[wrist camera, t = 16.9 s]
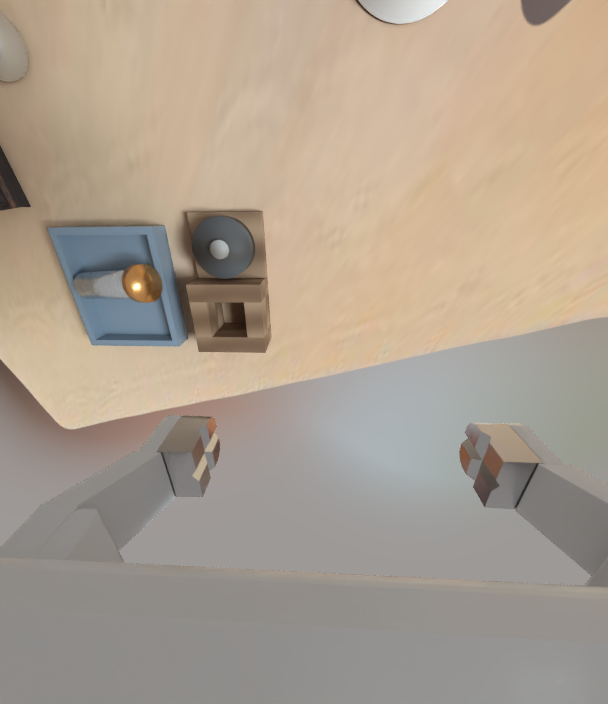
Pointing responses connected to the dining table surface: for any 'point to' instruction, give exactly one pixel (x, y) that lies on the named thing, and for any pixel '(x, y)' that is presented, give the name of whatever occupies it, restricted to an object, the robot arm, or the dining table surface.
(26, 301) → the dining table surface
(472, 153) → the dining table surface
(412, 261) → the dining table surface
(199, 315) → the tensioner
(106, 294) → the pin
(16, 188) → the hardcover book
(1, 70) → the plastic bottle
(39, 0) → the dining table surface
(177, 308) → the tray
